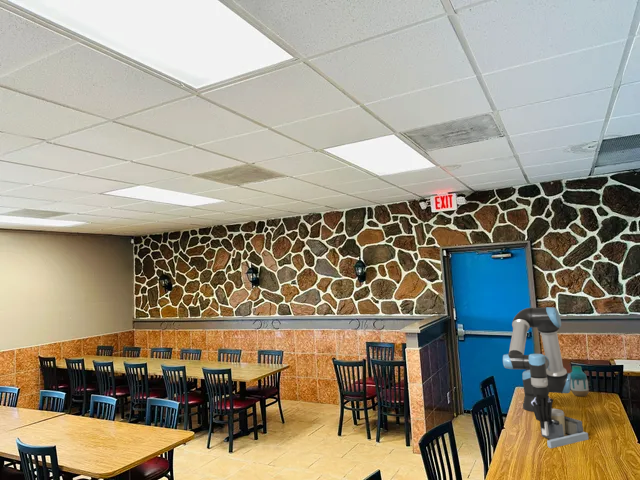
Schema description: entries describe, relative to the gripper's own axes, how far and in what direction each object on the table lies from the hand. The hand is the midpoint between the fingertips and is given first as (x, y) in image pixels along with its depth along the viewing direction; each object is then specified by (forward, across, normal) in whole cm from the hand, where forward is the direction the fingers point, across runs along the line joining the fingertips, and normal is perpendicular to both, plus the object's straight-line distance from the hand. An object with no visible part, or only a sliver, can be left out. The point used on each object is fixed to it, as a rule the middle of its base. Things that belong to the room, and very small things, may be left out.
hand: (545, 434), depth 215 cm
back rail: (+3, +6, -7) cm, 10 cm away
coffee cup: (+3, +11, +4) cm, 12 cm away
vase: (+2, +83, +51) cm, 98 cm away
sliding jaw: (+3, +4, 0) cm, 5 cm away
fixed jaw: (+3, +17, 0) cm, 17 cm away
